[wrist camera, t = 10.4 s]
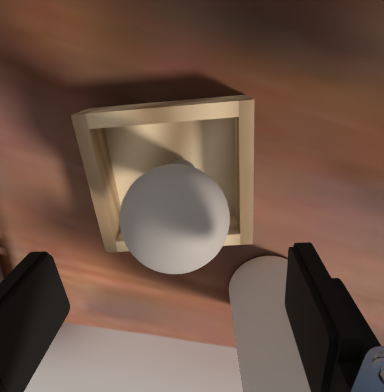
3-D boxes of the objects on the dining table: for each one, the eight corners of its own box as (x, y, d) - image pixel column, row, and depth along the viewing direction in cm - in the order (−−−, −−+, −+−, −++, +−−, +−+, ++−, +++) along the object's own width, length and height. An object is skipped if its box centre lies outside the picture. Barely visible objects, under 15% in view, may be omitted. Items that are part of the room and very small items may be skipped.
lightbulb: (180, 217, 25) (169, 317, 15) (129, 168, 23) (77, 246, 13) (234, 173, 23) (263, 254, 13) (183, 117, 21) (171, 161, 11)
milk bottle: (217, 301, 30) (249, 671, 11) (244, 244, 27) (346, 625, 8) (284, 318, 30) (412, 686, 12) (317, 264, 27) (555, 650, 9)
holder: (245, 94, 21) (254, 99, 18) (245, 221, 25) (252, 244, 22) (89, 108, 22) (70, 114, 18) (117, 229, 26) (105, 252, 23)
